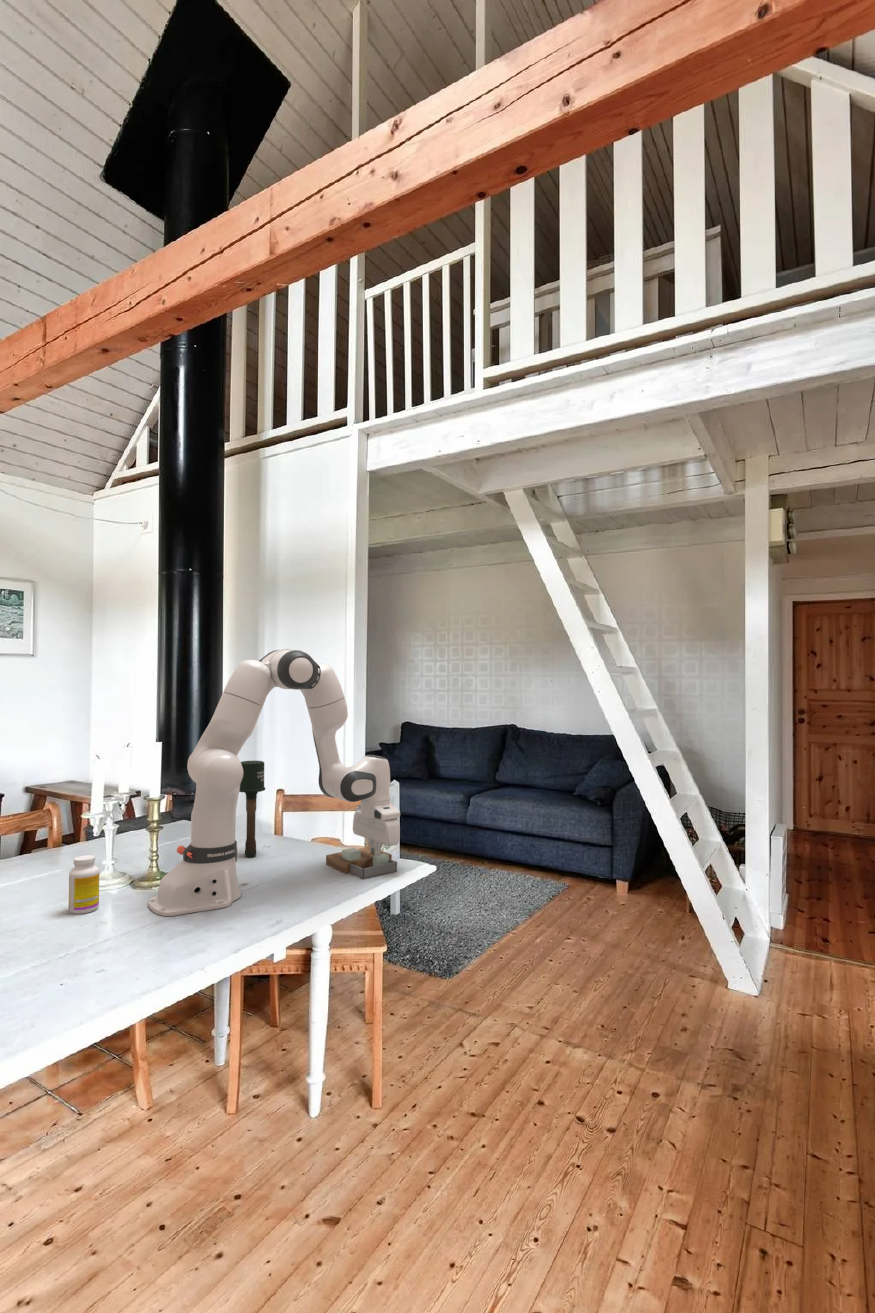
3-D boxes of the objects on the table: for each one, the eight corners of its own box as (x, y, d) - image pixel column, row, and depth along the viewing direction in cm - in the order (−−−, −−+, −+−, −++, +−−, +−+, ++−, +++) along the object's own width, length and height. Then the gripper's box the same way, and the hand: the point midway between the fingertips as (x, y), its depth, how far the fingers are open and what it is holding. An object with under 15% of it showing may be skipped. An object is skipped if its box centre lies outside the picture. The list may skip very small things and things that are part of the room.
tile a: (349, 861, 197) (349, 852, 197) (342, 858, 200) (342, 849, 200) (360, 858, 200) (360, 850, 200) (353, 856, 203) (353, 847, 203)
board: (347, 874, 194) (347, 864, 194) (326, 865, 204) (326, 855, 204) (391, 864, 205) (391, 854, 205) (369, 855, 214) (369, 846, 214)
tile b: (372, 869, 198) (377, 871, 197) (372, 855, 199) (377, 857, 197) (383, 866, 201) (388, 868, 199) (383, 853, 201) (388, 855, 199)
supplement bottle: (104, 908, 165) (105, 856, 166) (78, 917, 160) (79, 863, 160) (88, 903, 169) (89, 852, 169) (62, 911, 163) (63, 858, 163)
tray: (362, 879, 190) (363, 869, 190) (350, 873, 195) (350, 864, 195) (396, 871, 197) (396, 862, 197) (383, 866, 203) (383, 856, 203)
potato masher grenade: (260, 860, 208) (261, 764, 208) (232, 860, 208) (234, 763, 209) (267, 853, 216) (268, 760, 217) (241, 852, 216) (242, 760, 217)
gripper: (347, 804, 207) (347, 849, 207) (386, 815, 192) (385, 864, 191) (364, 802, 211) (364, 845, 211) (403, 812, 196) (403, 860, 195)
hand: (375, 854), depth 201 cm, fingers closed
